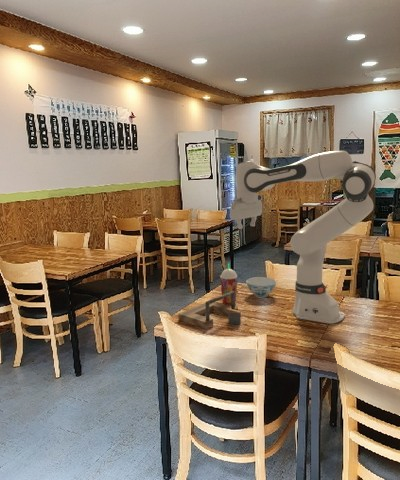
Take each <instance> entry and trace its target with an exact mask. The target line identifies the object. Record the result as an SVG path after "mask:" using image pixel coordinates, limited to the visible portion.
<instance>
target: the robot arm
mask: <svg viewBox="0 0 400 480" xmlns="http://www.w3.org/2000/svg"><path fill="white" fill-rule="evenodd" d="M235 175H236V177H235V181H236V198H234V199H233V200H232V202H231V205H230V213H229V218H230V220H232V221H235V222H236V224H237V229H238V230H242V229H244V225H243V224H242V220H244V219H249V218H251V219H250V220H251V221H250V222H249V226H250V227H255V226H256V221H257V217H258V216H261V215H262V213H263V202H262V201H263V195H261V194H259V193H258V192H264V191H268V190H270V189H271V190H272V189H273V188H274V187H275V186H276V185H277V184H282V183H286V182H311V183H312V182H323V181H329V180H332V179H338V180H341V181H342V182H341V188H342V190H343V192H344V194H345V198H344V199H343V200H342V201H340V202H339V203H337V204H336V205H335V206H333V207H332V208H331V209H329V210H328V211H327V212H325V213H323V214H322V215H321V216H318V217H317V218H316V219H314V220H312V221H310V222H309V223H308V224H306V225H305V226H304V227H302V228H300V229H299V230H297V231H296V232H295V233H294V234H293V235H292V236H291V238H290V241H289V242H290V243H289V244H290V249H291V250H292V251H293V252H294V253H295V254H297V255H299V259H298V260H297V264H296V281H295V287H294V288H295V289H294V291H295V297H294V304H293V308H292V311H291V312H292V313H293V314H294V315H295V317H296V318H297V319H301V320H307V321H313V322H317V323H325V324H328V325H329V324H330V325H331V324H337V323H339V322H341V321H342V320H344V318H345V313H344V312H342V311H340V305H339V303H338V300H336V299H335V298H334V297H332V296H331V295H330V294H329V293H328V292H327V288H328V284H324V283H323V269H324V259H325V257H326V251H327V245H328V243H330V242H331V241H333V240H335V239H336V238H338V237H340V236H341V235H343V234H344V233H346V232H348V230H350V229H352V228H353V227H354V226H356V225H358V224H359V223H360V222H361V221H363V220H364V219H365V218H367V216H369V215H370V213H372V211H374V207H375V206H374V202H373V199H372V197H370V195H369V193H370V191H371V190H372V188H373V187H374V185H375V181H376V172H375V170H374V168H373V167H372V166H370V165H368V164H366V163H362V162H359V161H356V160H355V161H354V160H352V156H351V155H350V153H349V152H348V151H346V150H331V151H330V150H329V151H325V152H320V153H316V154H313V155H310V156H307V157H305V158H302V159H301V160H298V161H295V162H293V163H291V164H287V165H285V166H279V167H274V168H269V167H266V166H262V165H260V164H257V163H256V162H255V161H253V160H248V161H247V160H246V161H243V162H239V163H238V164H237V166H236V174H235Z"/></svg>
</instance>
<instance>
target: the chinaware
mask: <svg viewBox="0 0 400 480" xmlns="http://www.w3.org/2000/svg"><path fill="white" fill-rule="evenodd" d="M245 282H246V287H247V289H248V290H249V291H250V292H251V294H253V295H254V297H255V298H263V299H265V298H267V297H268V296H269V294H272V292H273V291H274V289H275V287H276V285H277V281H276V280H275V278H271V277H265V276H257V277H256V276H255V277H254V276H253V277H250V278H248V279H246V281H245Z"/></svg>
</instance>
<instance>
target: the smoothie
mask: <svg viewBox="0 0 400 480" xmlns="http://www.w3.org/2000/svg"><path fill="white" fill-rule="evenodd" d="M219 277H220V278H219V279H220V288H221V291H220V292H221V296H222V295H224V294H227V293H229V292H231V291H235V302H236V301H237V293H238V292H237V290H238V274H237V273H236V271H235V270H234V269H232V268H230V263H227V268H225V269H224V270H223V271H222V272H221V274H220V275H219ZM221 302H223V303H222V304H226V305H230V306H231V295H230V296H228V297H225V298H223V299H221Z"/></svg>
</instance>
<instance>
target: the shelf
mask: <svg viewBox="0 0 400 480" xmlns="http://www.w3.org/2000/svg"><path fill="white" fill-rule="evenodd" d="M230 295H231V305H226V304H224V303H222V302H218V301H222V299H223V298H225V297H228V296H230ZM229 309H233V310H239V307H237V306H236V301H235V291H231V292H229V293H227V294H224V295H222V294H221V295H219V296H217V297H215V298H212V299H210V300H207V301H205V302H203V303H202V304H199V305H196V306H194V307H192V308H190V309H186V310H184V311H182V312H180V313H178V321H180V322H183V323H186V324H189V325H192V326H194V327H195V326H196V327H198V328H201V329H205V330H208V329H210V328H212V327H214V319H213V318H210V317H211V316H210V315H211V314H210V313H213V312H214V313H216V314H221V315H224V316H227V317H229Z"/></svg>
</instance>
